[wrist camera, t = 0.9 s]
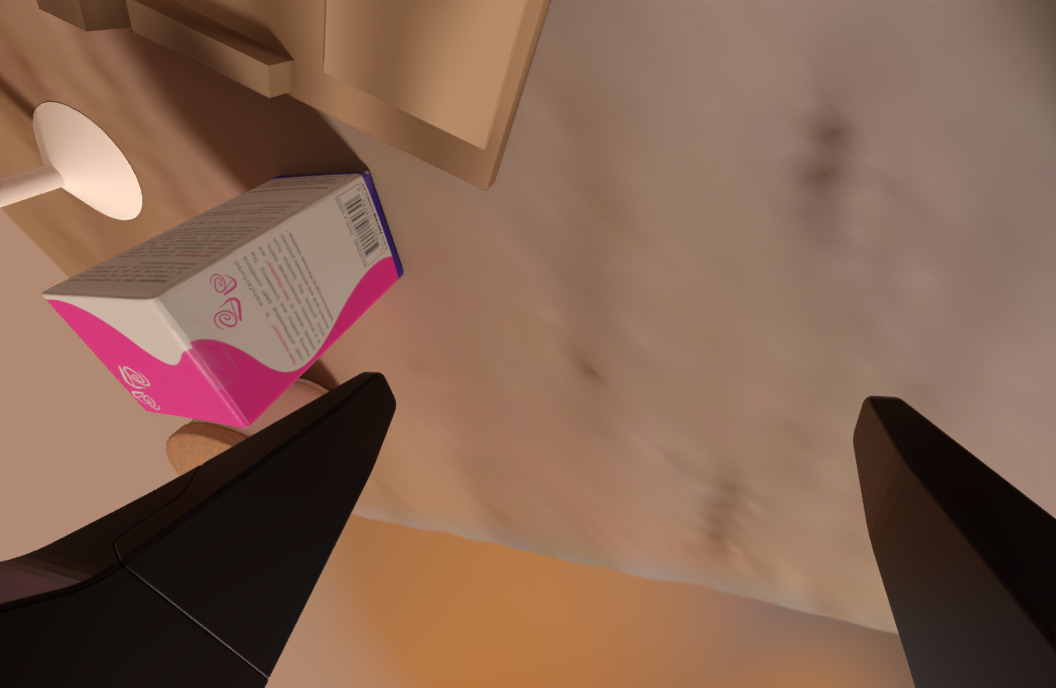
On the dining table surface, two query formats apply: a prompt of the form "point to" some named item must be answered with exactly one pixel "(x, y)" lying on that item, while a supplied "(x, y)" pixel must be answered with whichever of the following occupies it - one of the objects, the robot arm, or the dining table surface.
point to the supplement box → (236, 296)
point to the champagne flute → (76, 165)
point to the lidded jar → (233, 428)
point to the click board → (360, 62)
